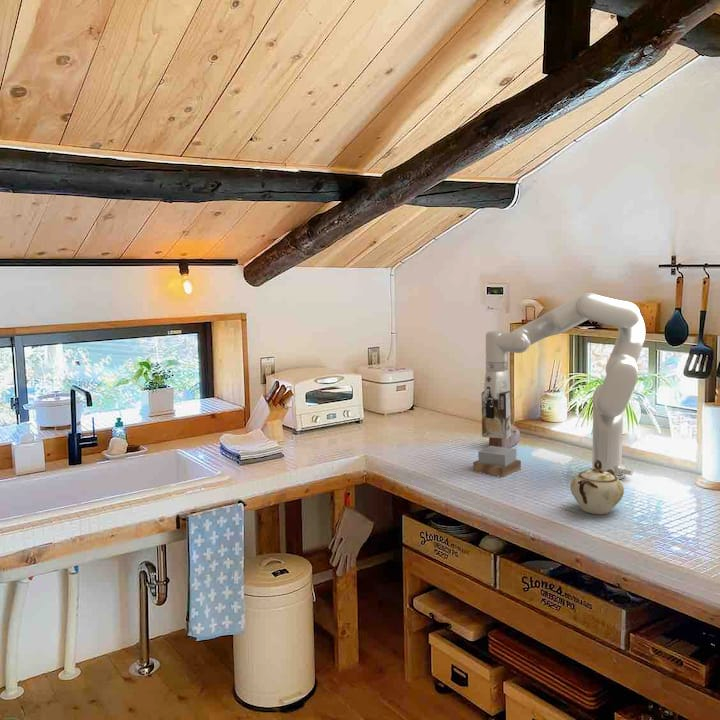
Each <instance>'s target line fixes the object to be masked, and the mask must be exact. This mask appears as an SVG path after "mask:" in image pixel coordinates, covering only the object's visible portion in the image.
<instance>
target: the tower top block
mask: <svg viewBox="0 0 720 720" xmlns="http://www.w3.org/2000/svg"><path fill="white" fill-rule="evenodd" d="M477 456H478V460H479V463H483V464H490V465H497V466H504V467H505V466H507V465H509V464H510V463H512V462H514V461H515V460H517V448H513V447H512V448H504V447H496V446H489V445H488V446H487V447H485V448H483V449H482V450H479V451H478V455H477Z"/></svg>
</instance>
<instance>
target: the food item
mask: <svg viewBox="0 0 720 720" xmlns="http://www.w3.org/2000/svg"><path fill="white" fill-rule="evenodd" d="M520 442H521V430H519V429H518V427H517V426H516V425H514V424H511V436H510V437H508V438H507V439H502V438H490V437H488V447H489V446H496V447H504V448H511V447H512V448H513V447H514V446H517V445H518V444H519V443H520Z"/></svg>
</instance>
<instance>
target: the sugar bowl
mask: <svg viewBox="0 0 720 720" xmlns="http://www.w3.org/2000/svg"><path fill="white" fill-rule="evenodd" d="M597 464H599V466H597ZM601 465H602V463H601V461H600V460H596V461H595V463H594V467H595V469H593V470H588V469H587V470H586V471H582V472H578V473H577V475H575V476H574V477H572V480H571V481H570V484H569V489H570V493H571V495H572V497H573V498H574V499H575V501H576V502H577V504H578V506H580V509H581V510H582V511H584V512H586V513H588V514H592V515H593V514H595V515H607V514H609V513H611V512H612V510H614V508H615V507H616V506H617V505H618V504H619V503H620V502H621V500H622V498H623V497H624V495H625V494H624V493H625V488H624V484H623V483H622V481H621V479H618V478H617V477H616V476H615V475H614V472H613V470H611V469H608V470H607V471H603V470H601V469H602V466H601Z"/></svg>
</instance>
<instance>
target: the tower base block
mask: <svg viewBox="0 0 720 720" xmlns="http://www.w3.org/2000/svg"><path fill="white" fill-rule="evenodd" d="M472 464H473V465H472V467H473V472H474V471H476V472H475V473H478V472H481V473H480V474H483V473H485V474H484V475H487V474H490V475H489V476H492V475H494V476H493V477H497V476H499V477H498V478H501V477H503V478H505V477H507V475H508V476H510V475H513V474H515V473H518V472H520V471H521V470H522V460H519V459H516V460H515V461H514V462H512V463H510V464H509V465H507V466H505V467H504V466H497V465H490V464H483V463H479V459H478V460H475V461H473V462H472ZM519 470H520V471H519ZM514 472H515V473H514ZM512 473H513V474H512ZM509 474H510V475H509ZM504 476H505V477H504Z"/></svg>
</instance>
